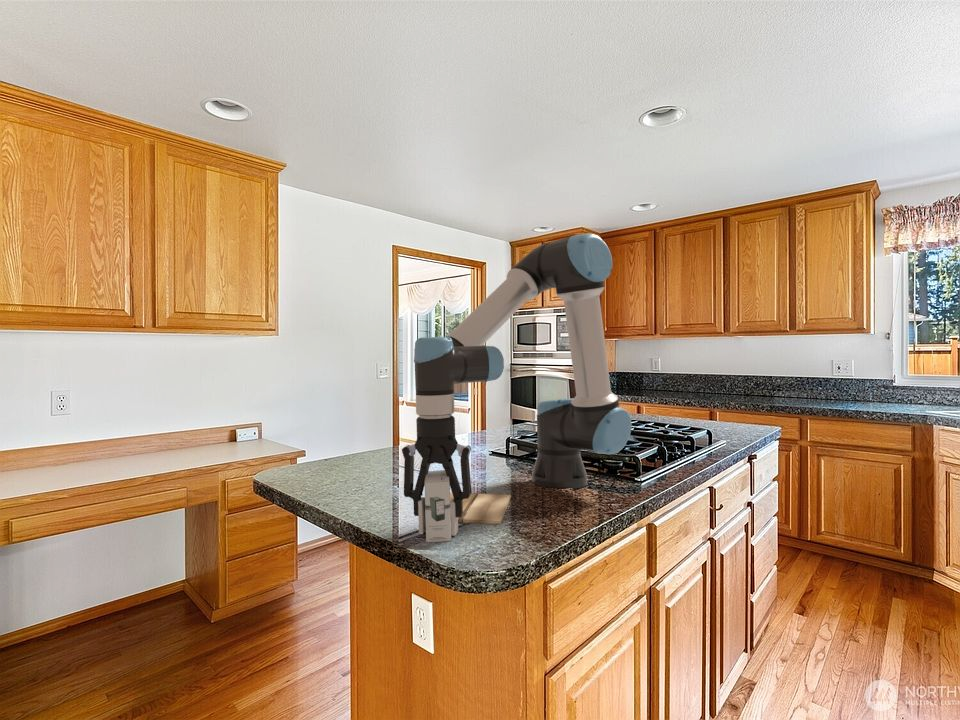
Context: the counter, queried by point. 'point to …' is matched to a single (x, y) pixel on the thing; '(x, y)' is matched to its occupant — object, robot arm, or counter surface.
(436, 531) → the ink box
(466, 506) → the floor strip
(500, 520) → the plank
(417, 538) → the counter surface
